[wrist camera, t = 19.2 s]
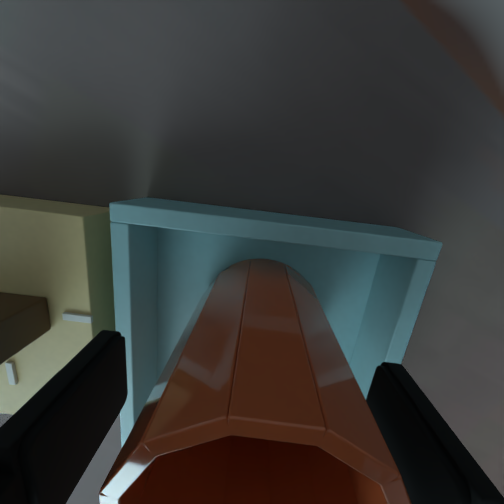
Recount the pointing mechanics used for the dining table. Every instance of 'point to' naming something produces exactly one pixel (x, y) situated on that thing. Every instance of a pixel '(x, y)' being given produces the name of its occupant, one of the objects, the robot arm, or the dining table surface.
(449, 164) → the dining table surface
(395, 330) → the blue tray
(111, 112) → the dining table surface
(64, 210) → the switch panel
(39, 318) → the brown switch lever
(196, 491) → the cup
